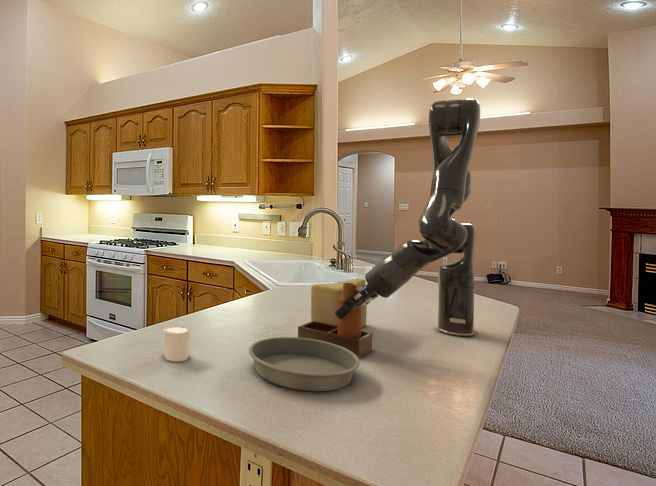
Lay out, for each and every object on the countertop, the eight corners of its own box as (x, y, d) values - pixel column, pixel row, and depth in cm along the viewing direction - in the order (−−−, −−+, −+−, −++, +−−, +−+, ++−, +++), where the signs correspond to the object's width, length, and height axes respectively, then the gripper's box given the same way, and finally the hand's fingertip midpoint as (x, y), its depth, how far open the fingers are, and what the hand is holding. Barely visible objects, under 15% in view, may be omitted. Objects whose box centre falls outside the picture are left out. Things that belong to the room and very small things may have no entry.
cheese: (350, 321, 148) (350, 275, 148) (378, 328, 140) (379, 280, 140) (309, 332, 134) (309, 283, 134) (338, 341, 127) (339, 288, 127)
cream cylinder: (194, 355, 114) (194, 327, 114) (183, 364, 108) (183, 335, 108) (170, 351, 117) (170, 324, 117) (158, 359, 111) (158, 331, 111)
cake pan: (299, 404, 87) (299, 381, 87) (228, 363, 109) (228, 344, 109) (384, 382, 98) (384, 361, 98) (304, 348, 120) (304, 331, 120)
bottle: (343, 339, 123) (343, 281, 123) (364, 344, 119) (365, 284, 119) (333, 344, 119) (334, 283, 119) (355, 349, 115) (356, 286, 115)
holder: (313, 336, 131) (313, 320, 131) (372, 350, 119) (372, 333, 119) (297, 343, 125) (297, 326, 125) (358, 358, 113) (358, 340, 113)
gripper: (388, 260, 119) (344, 298, 127) (367, 266, 109) (321, 306, 117) (410, 283, 115) (363, 320, 124) (390, 291, 105) (340, 331, 113)
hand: (343, 313), depth 120 cm, fingers closed on bottle, 6 cm apart
